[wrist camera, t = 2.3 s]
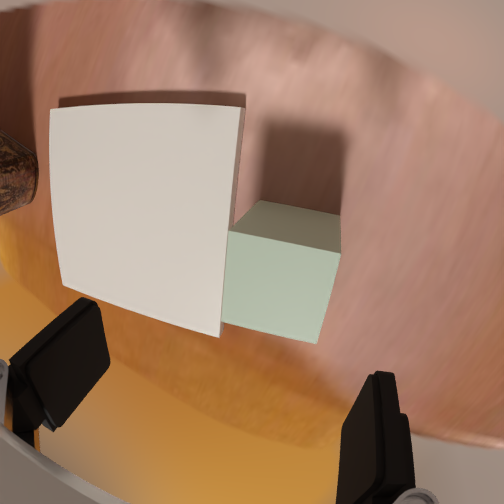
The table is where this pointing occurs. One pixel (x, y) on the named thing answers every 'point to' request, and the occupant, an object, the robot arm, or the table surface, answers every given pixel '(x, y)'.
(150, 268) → the pale board
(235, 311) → the block
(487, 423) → the table surface
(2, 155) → the book
